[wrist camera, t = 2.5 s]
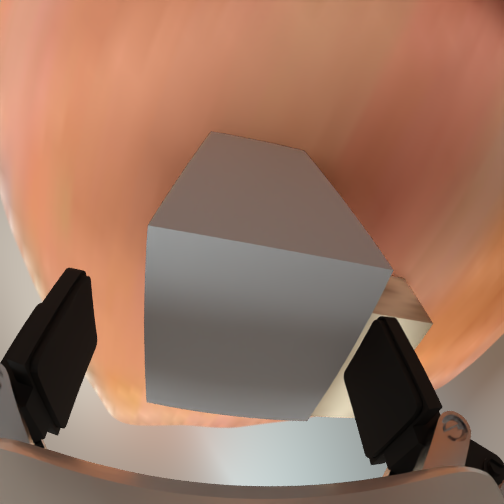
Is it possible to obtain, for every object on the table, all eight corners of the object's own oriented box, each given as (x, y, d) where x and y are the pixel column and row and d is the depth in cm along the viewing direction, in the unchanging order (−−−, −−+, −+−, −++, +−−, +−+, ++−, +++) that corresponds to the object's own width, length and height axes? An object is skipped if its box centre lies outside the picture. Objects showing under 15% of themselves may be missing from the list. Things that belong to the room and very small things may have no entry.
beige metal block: (403, 277, 25) (433, 323, 20) (344, 370, 31) (357, 417, 26) (268, 243, 23) (275, 293, 18) (229, 354, 29) (227, 406, 24)
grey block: (304, 150, 20) (393, 270, 8) (278, 245, 23) (307, 421, 11) (211, 131, 19) (147, 225, 7) (194, 230, 22) (146, 401, 10)
